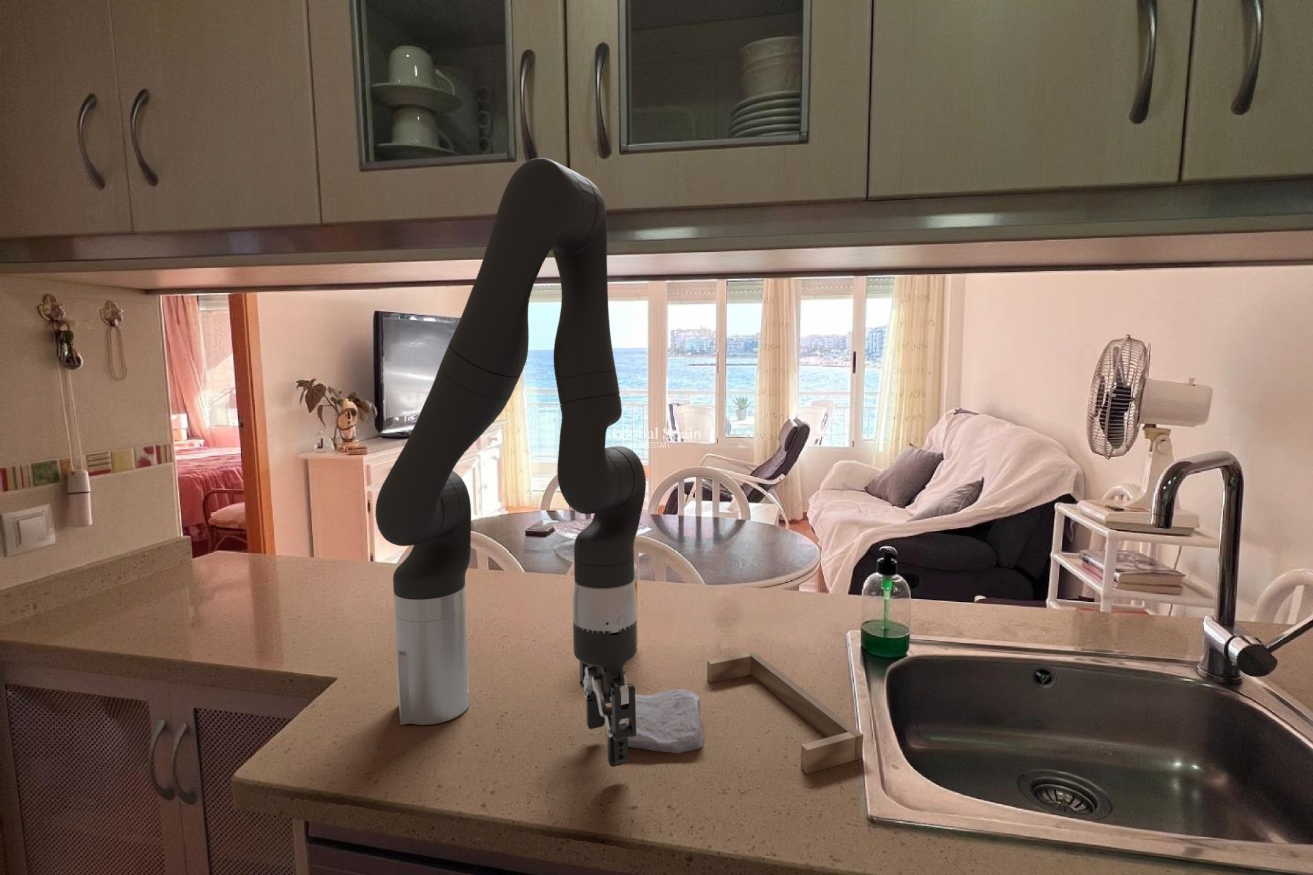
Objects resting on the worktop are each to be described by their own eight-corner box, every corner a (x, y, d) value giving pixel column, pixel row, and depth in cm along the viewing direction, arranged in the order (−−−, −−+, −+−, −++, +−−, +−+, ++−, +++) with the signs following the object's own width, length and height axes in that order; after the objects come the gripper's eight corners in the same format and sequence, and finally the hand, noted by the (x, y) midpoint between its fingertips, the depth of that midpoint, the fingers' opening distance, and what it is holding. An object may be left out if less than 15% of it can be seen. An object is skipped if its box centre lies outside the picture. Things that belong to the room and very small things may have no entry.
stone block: (707, 766, 83) (699, 709, 93) (707, 735, 82) (698, 680, 91) (611, 772, 83) (612, 714, 92) (609, 740, 81) (611, 685, 91)
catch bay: (806, 774, 78) (807, 749, 78) (707, 679, 101) (707, 660, 101) (862, 757, 81) (863, 734, 81) (753, 669, 104) (753, 651, 104)
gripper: (558, 600, 85) (561, 721, 87) (592, 644, 72) (594, 786, 73) (615, 592, 88) (616, 710, 89) (657, 633, 74) (657, 770, 76)
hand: (606, 744), depth 81 cm, fingers open, 8 cm apart
